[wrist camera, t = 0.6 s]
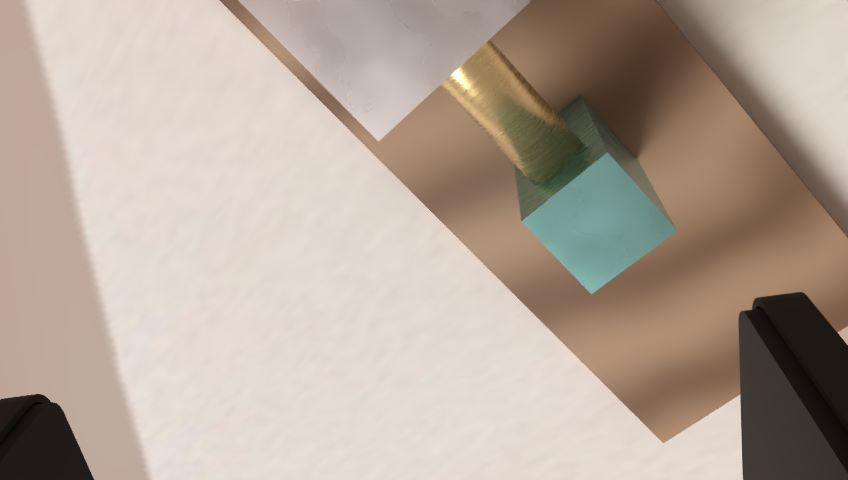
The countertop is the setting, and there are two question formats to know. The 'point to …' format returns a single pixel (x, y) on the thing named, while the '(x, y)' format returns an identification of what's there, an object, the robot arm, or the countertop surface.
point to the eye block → (382, 47)
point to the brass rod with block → (564, 171)
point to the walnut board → (672, 181)
